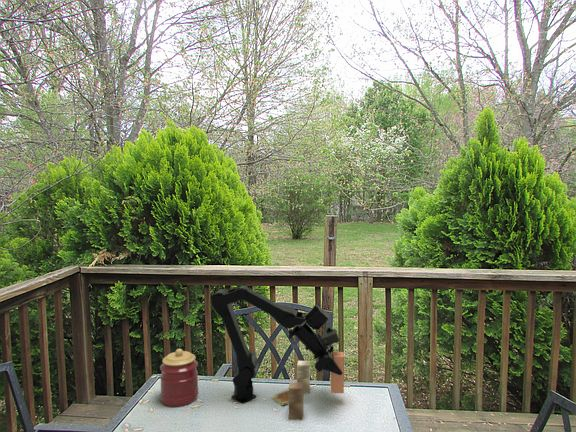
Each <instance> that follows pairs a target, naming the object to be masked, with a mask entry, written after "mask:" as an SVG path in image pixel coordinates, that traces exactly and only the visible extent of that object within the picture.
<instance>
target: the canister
mask: <svg viewBox="0 0 576 432" xmlns="http://www.w3.org/2000/svg"><path fill="white" fill-rule="evenodd" d="M198 366H199V362H198V361H197V360H196V356H195V354H194V353H191V352H190V351H187V350H183V349H182V348H177V349H176V350H175V351H174V352H171V353H169V354H167V355H166V356H165V357H164V358H163V359H162V364H160V366H159V371H161V374H160V376H159V379H160V395H159V396H160V401H161V403H162V404H163V405H164V406H168V407H182V406H187V405H189V404H191V403H193V402H195V401H196V400H197V398H198V395H199V386H198V384H199V382H198V377H199V376H198V375H199V371H198V370H197V367H198Z"/></svg>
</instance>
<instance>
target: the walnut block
mask: <svg viewBox="0 0 576 432" xmlns="http://www.w3.org/2000/svg"><path fill="white" fill-rule="evenodd" d="M288 390H289V404H288V420H294V421H295V420H296V421H297V420H298V421H303V420H304V413H305V411H304V393H303V383H301V382H296V381H289V385H288Z"/></svg>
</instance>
